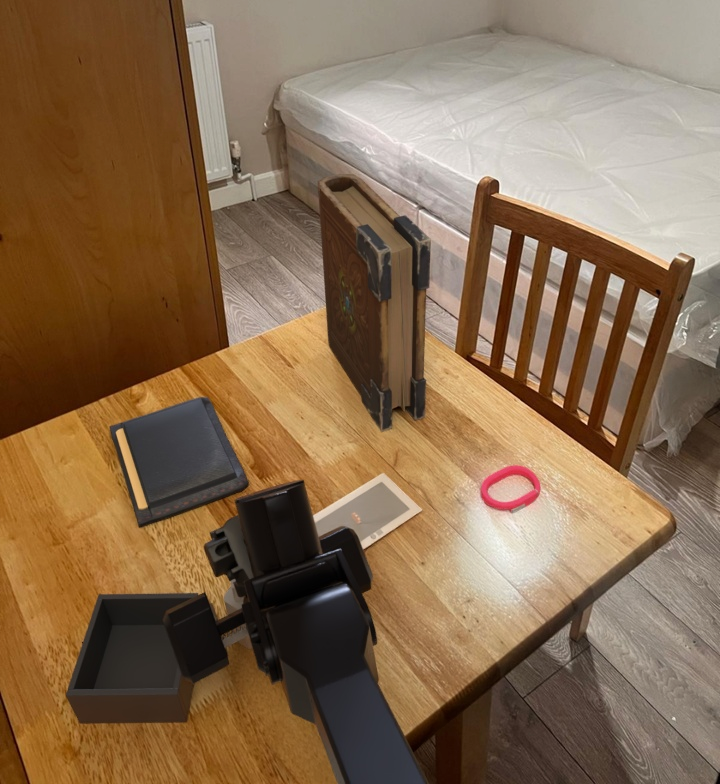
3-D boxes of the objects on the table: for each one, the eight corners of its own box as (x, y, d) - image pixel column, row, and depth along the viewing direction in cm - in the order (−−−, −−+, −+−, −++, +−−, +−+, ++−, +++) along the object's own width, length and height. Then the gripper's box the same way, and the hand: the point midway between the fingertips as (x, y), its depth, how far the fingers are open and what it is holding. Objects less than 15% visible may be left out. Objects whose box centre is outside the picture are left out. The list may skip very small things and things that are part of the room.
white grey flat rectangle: (288, 536, 90) (287, 525, 89) (383, 478, 97) (383, 467, 96) (325, 580, 85) (324, 569, 84) (422, 515, 92) (422, 504, 91)
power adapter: (229, 637, 79) (213, 570, 72) (260, 598, 83) (248, 531, 76) (251, 651, 78) (238, 584, 71) (282, 611, 82) (271, 544, 75)
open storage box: (186, 722, 72) (177, 694, 69) (79, 723, 72) (65, 695, 69) (205, 621, 81) (198, 592, 78) (109, 623, 81) (98, 594, 78)
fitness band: (500, 521, 91) (501, 513, 90) (471, 490, 95) (472, 482, 94) (549, 494, 94) (550, 486, 94) (519, 465, 99) (520, 457, 98)
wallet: (249, 479, 95) (131, 520, 90) (250, 489, 96) (134, 530, 91) (209, 387, 110) (106, 418, 105) (211, 396, 111) (109, 427, 106)
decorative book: (424, 417, 106) (431, 239, 89) (380, 432, 104) (378, 252, 87) (360, 329, 124) (355, 166, 107) (321, 340, 122) (309, 176, 105)
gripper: (355, 473, 64) (307, 476, 78) (147, 568, 57) (136, 552, 71) (402, 595, 63) (345, 575, 77) (196, 708, 56) (175, 663, 70)
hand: (253, 587), depth 74 cm, fingers open, 9 cm apart
